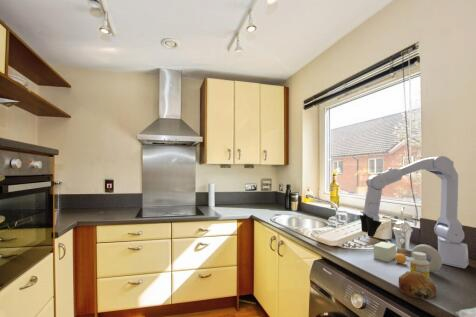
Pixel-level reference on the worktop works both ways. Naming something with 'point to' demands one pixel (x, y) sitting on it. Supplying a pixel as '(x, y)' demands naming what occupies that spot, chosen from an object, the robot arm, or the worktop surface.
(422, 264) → the supplement bottle
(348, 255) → the worktop surface
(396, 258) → the ball
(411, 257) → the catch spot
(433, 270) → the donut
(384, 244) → the cream white block
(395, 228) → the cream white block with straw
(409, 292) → the bread roll
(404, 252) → the grey brown bar
